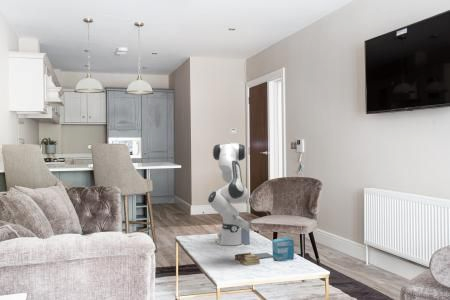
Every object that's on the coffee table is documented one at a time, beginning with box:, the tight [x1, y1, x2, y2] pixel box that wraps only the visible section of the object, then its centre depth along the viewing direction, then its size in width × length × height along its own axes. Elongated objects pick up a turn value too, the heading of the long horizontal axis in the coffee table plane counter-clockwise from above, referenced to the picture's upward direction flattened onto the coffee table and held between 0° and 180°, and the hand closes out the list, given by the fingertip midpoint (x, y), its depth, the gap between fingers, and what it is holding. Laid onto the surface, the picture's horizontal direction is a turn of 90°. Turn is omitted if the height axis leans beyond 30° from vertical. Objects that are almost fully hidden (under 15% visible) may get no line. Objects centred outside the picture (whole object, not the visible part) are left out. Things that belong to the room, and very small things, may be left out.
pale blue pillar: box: [240, 220, 251, 246], centre depth 267 cm, size 6×3×13 cm, turn 21°
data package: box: [271, 237, 295, 262], centre depth 267 cm, size 12×4×12 cm, turn 113°
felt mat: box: [251, 252, 273, 260], centre depth 276 cm, size 10×11×1 cm
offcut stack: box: [241, 255, 261, 266], centre depth 259 cm, size 5×9×4 cm, turn 111°
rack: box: [234, 252, 257, 264], centre depth 266 cm, size 10×10×3 cm
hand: (246, 229), depth 267 cm, fingers closed on pale blue pillar, 5 cm apart
